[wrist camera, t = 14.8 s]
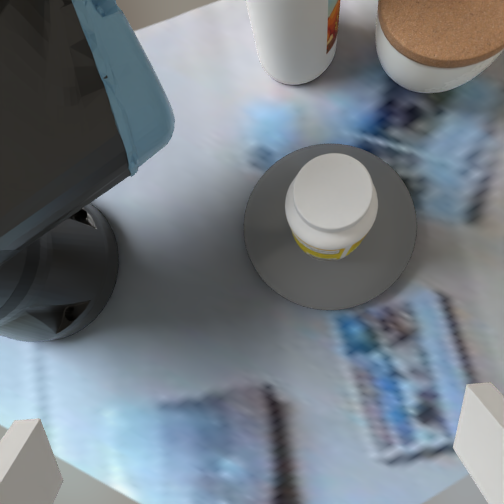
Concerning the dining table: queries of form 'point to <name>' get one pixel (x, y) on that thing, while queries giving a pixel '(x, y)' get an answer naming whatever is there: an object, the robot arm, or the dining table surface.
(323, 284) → the slate plate
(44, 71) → the robot arm
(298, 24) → the milk bottle
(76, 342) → the dining table surface
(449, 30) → the lidded jar
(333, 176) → the pill bottle
